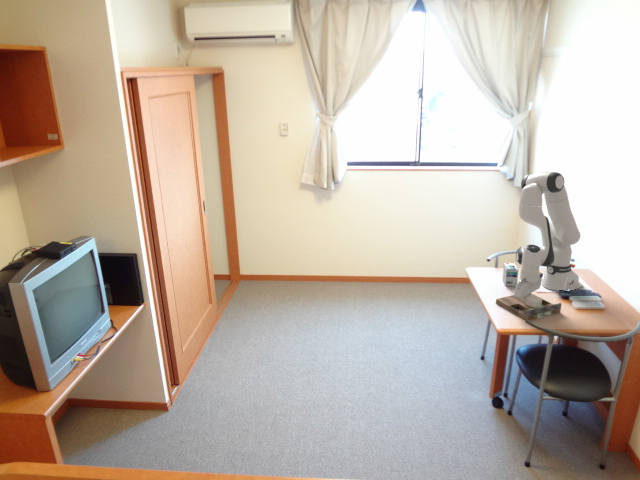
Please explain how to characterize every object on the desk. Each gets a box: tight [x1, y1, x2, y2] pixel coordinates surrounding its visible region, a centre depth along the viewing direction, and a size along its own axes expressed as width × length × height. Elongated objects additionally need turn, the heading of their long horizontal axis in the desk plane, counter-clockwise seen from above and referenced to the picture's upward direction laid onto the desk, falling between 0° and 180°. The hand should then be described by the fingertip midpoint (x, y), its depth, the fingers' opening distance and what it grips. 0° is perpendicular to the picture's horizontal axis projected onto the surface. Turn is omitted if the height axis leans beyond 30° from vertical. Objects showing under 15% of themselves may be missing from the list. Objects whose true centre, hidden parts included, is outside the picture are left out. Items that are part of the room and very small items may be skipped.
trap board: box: [495, 292, 562, 321], centre depth 247 cm, size 22×22×5 cm
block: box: [525, 296, 543, 308], centre depth 245 cm, size 5×6×4 cm
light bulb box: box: [502, 262, 519, 287], centre depth 277 cm, size 11×7×11 cm, turn 168°
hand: (526, 300), depth 248 cm, fingers closed
